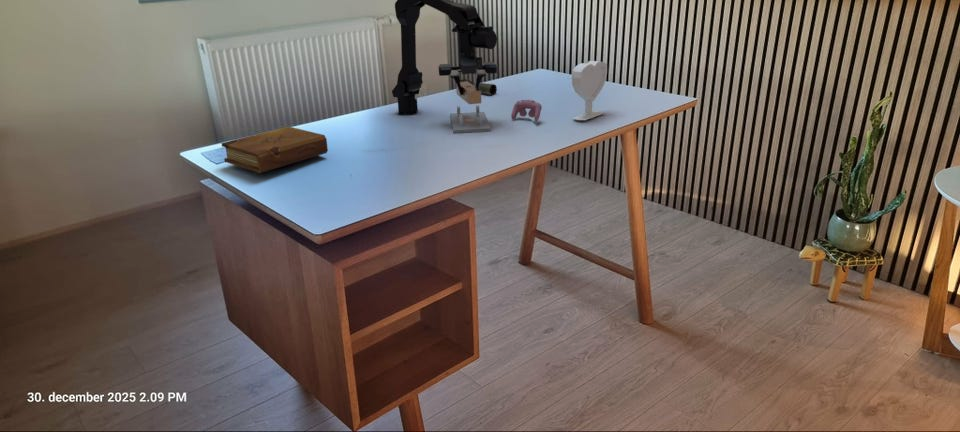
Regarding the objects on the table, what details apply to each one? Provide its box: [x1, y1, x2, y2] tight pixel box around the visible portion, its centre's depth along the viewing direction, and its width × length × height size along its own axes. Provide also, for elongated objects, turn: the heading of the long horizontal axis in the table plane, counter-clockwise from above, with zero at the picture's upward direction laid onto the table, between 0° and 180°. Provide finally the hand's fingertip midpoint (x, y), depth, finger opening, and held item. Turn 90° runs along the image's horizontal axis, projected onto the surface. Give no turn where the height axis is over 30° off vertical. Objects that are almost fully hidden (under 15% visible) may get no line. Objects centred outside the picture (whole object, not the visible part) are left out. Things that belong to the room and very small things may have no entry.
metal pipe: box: [456, 78, 498, 96], centre depth 263 cm, size 18×7×6 cm, turn 53°
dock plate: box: [449, 111, 492, 134], centre depth 225 cm, size 12×22×1 cm, turn 5°
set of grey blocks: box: [456, 104, 483, 126], centre depth 224 cm, size 8×13×4 cm, turn 5°
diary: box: [221, 125, 329, 174], centre depth 197 cm, size 23×19×6 cm
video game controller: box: [510, 99, 543, 122], centre depth 226 cm, size 10×5×7 cm, turn 65°
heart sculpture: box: [571, 60, 608, 121], centre depth 226 cm, size 16×5×18 cm, turn 137°
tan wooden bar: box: [455, 81, 482, 105], centre depth 221 cm, size 4×16×4 cm, turn 16°
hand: (468, 95), depth 221 cm, fingers closed on tan wooden bar, 4 cm apart
